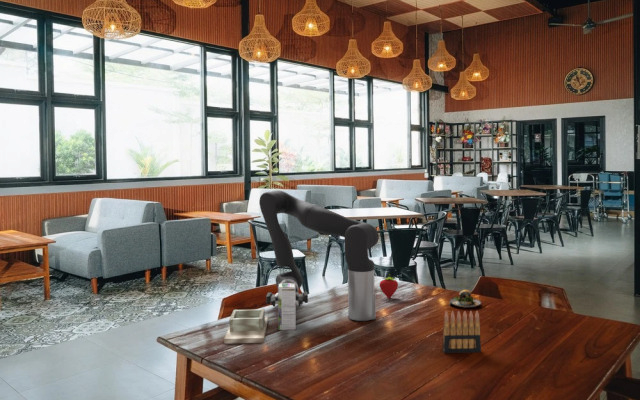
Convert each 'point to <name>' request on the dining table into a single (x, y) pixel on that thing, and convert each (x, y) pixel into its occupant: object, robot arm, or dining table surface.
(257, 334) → the stand
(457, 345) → the ammunition clip
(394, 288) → the strawberry
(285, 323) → the syrup box
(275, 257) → the robot arm
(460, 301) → the burger
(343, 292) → the dining table surface
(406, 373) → the dining table surface
